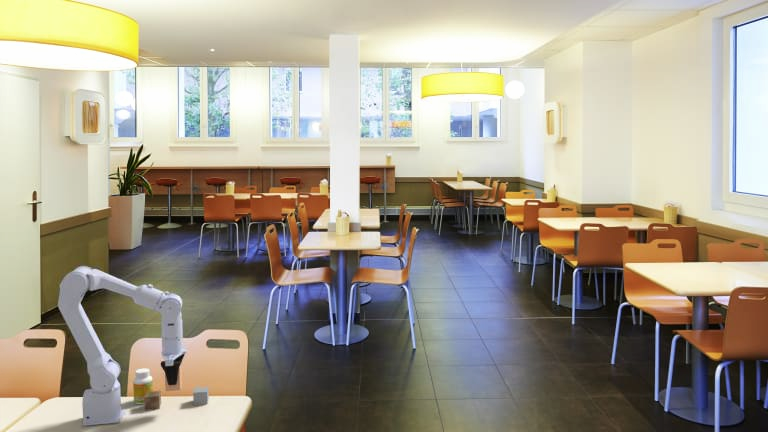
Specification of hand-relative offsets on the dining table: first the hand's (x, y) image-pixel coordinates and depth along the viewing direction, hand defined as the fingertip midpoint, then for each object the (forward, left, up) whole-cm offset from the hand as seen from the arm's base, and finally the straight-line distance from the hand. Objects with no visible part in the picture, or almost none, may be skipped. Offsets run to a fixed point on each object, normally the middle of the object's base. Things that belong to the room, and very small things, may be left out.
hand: (173, 381), depth 163 cm
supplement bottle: (-10, +9, -9) cm, 17 cm away
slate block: (+7, +5, -9) cm, 12 cm away
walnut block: (-7, +5, -9) cm, 12 cm away
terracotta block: (0, 0, -2) cm, 2 cm away
